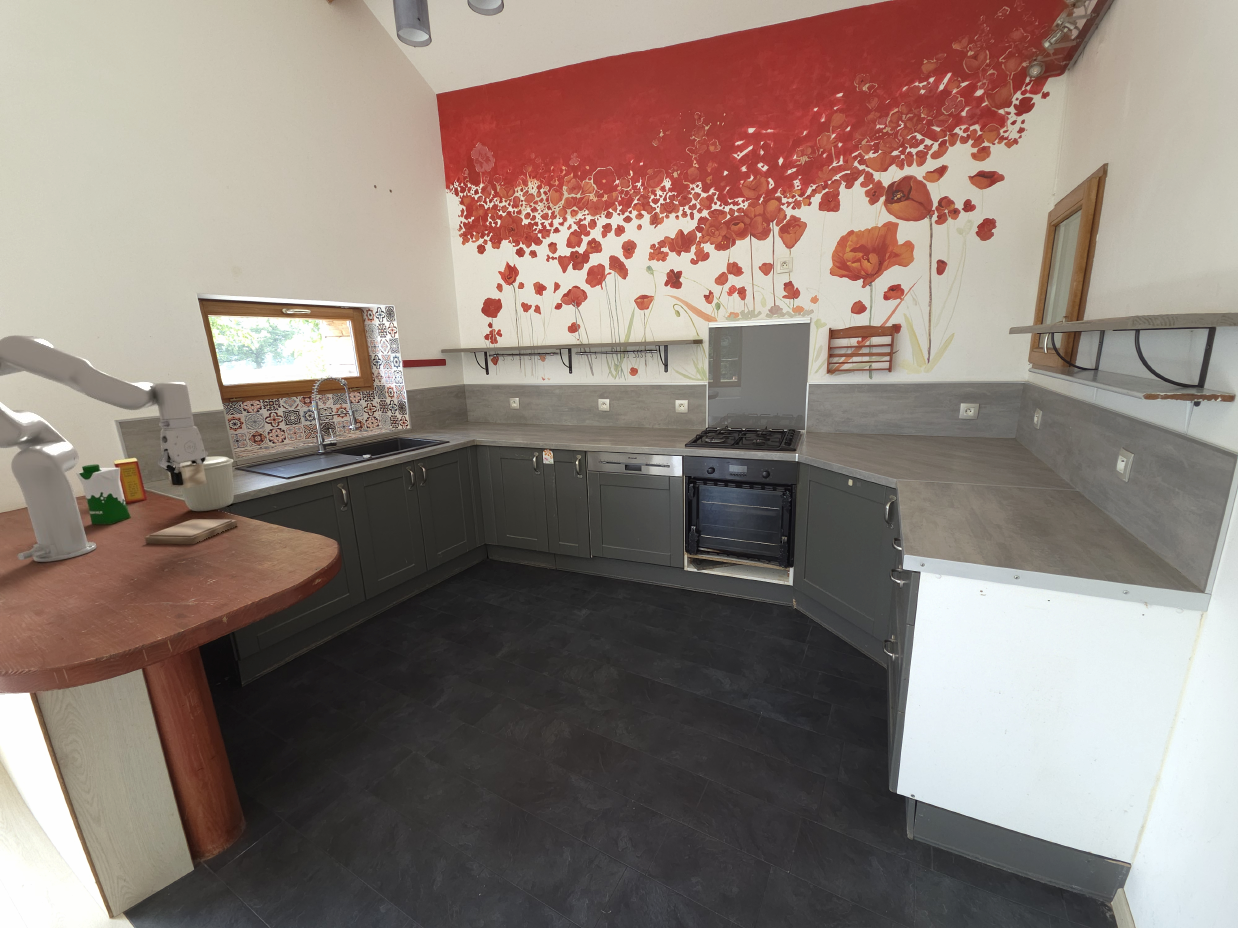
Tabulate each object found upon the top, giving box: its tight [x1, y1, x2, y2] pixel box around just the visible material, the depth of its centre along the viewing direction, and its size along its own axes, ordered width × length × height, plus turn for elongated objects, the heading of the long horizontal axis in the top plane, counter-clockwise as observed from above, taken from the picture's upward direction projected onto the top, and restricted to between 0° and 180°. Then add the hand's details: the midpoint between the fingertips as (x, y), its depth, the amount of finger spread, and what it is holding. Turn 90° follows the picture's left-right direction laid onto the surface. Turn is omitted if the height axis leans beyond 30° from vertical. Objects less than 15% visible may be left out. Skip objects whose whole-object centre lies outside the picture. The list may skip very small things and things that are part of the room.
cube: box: [167, 463, 206, 488], centre depth 161 cm, size 6×6×6 cm
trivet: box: [144, 518, 238, 545], centre depth 165 cm, size 16×16×2 cm
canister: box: [174, 455, 235, 512], centre depth 192 cm, size 18×18×21 cm
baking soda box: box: [112, 457, 148, 504], centre depth 206 cm, size 10×6×16 cm
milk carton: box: [76, 463, 132, 525], centre depth 179 cm, size 9×9×20 cm
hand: (188, 481), depth 162 cm, fingers closed on cube, 6 cm apart
